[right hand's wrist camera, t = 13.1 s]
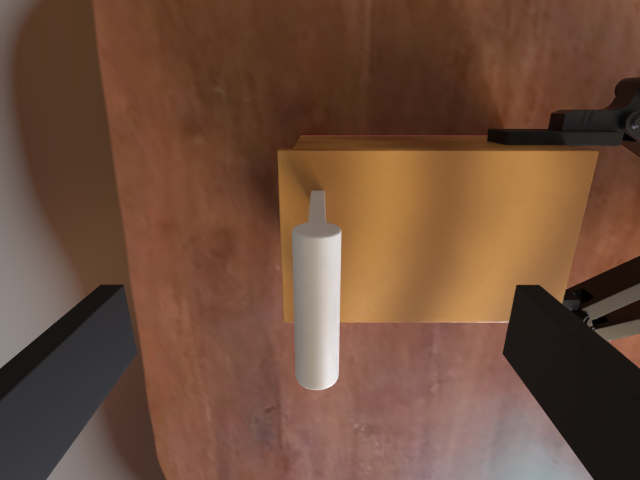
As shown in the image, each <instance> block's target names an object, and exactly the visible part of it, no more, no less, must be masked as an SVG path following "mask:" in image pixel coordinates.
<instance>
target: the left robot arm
mask: <svg viewBox="0 0 640 480" xmlns="http://www.w3.org/2000/svg"><path fill="white" fill-rule="evenodd" d="M615 95H616V97H615V99H614V100H613V102H612V103H611V104H610V105H609V106H608V107H606V108H605V109H602V110H559V111H556V112H553V113H551V118H550V123H549V128H548V129H489V130H488V137H487V141H490V142H494V143H499V144H504V145H568V146H621V144H622V145H623V146H624V147H626V148H627V149H629V150H630V151H632V152H633V153H634V154H636V155H637V156H639V157H640V77H636V78H626V79H623V80H621V81H620V82H619V83H618V84H617V85H616V87H615ZM562 304H563V305H564V306H565V307H567V308H568V309H569V310H570V311H571V312H572V313H574V314H575V315H576V316H577V317H578V318H580V319H581V320H582V321H583V322H584V323H586V324H587V325H588V326H589V327H590V328H592V329H593V330H594V331H595V332H596V333H598V334H599V335H600V336H601V337H602V338H604V339H605V340H606V341H610V340H615V339H619V338H623V337H628V336H632V335H636V334H640V256H638V257H636V258H634V259H632V260H630V261H628V262H625V263H623V264H621V265H619V266H617V267H615V268H612V269H610V270H608V271H606V272H604V273H601V274H599V275H597V276H595V277H593V278H591V279H588V280H586V281H584V282H582V283H580V284H577V285H575V286H573V287H571V288H569V289H567V290H565V294H564V298H563V302H562Z"/></svg>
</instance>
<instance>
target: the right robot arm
mask: <svg viewBox="0 0 640 480" xmlns="http://www.w3.org/2000/svg"><path fill="white" fill-rule="evenodd" d="M136 355H137V350H136V344H135V339H134V334H133V329H132V324H131V319H130V314H129V309H128V304H127V299H126V294H125V289H124V285H100V286H99V287H97V288H96V289H95V290H94V291H93V292H91V293H90V294H89V295H88V296H87V297H85V298H84V299H83V300H82V301H81V302H79V303H78V304H77V305H76V306H75V307H73V308H72V309H71V310H70V311H69V312H68V313H66V314H65V315H64V316H63V317H62V318H60V319H59V320H58V321H57V322H56V323H54V324H53V325H52V326H51V327H50V328H48V329H47V330H46V331H45V332H44V333H42V334H41V335H40V336H39V337H38V338H36V339H35V340H34V341H33V342H32V343H30V344H29V345H28V346H27V347H26V348H24V349H23V350H22V351H21V352H20V353H18V354H17V355H16V356H15V357H14V358H12V359H11V360H10V361H9V362H8V363H6V364H5V365H4V366H3V367H2V368H1V369H0V480H46V479H47V478H48V476H49V475H50V473H51V472H52V471H53V469H54V468H55V467H56V465H57V464H58V463H59V461H60V460H61V458H62V457H63V456H64V454H65V453H66V451H67V450H68V449H69V447H70V446H71V445H72V443H73V442H74V440H75V439H76V438H77V436H78V435H79V434H80V432H81V431H82V429H83V428H84V427H85V425H86V424H87V423H88V421H89V420H90V418H91V417H92V416H93V414H94V413H95V411H96V410H97V409H98V407H99V406H100V405H101V403H102V402H103V400H104V399H105V398H106V396H107V395H108V394H109V392H110V391H111V389H112V388H113V387H114V385H115V384H116V382H117V381H118V380H119V378H120V377H121V376H122V374H123V373H124V371H125V370H126V369H127V367H128V366H129V364H130V363H131V362H132V360H133V359H134V358H135V356H136ZM503 355H504V356H505V358H506V359H507V360H508V362H509V363H510V365H511V366H512V367H513V369H514V370H515V371H516V373H517V374H518V376H519V377H520V378H521V380H522V381H523V382H524V384H525V385H526V387H527V388H528V389H529V391H530V392H531V394H532V395H533V396H534V398H535V399H536V400H537V402H538V403H539V405H540V406H541V407H542V409H543V410H544V411H545V413H546V414H547V416H548V417H549V418H550V420H551V421H552V423H553V424H554V425H555V427H556V428H557V429H558V431H559V432H560V434H561V435H562V436H563V438H564V439H565V440H566V442H567V443H568V445H569V446H570V447H571V449H572V450H573V451H574V453H575V454H576V456H577V457H578V458H579V460H580V461H581V463H582V464H583V465H584V467H585V468H586V469H587V471H588V472H589V474H590V475H591V476H592V478H593V479H594V480H640V368H638V367H637V366H636V365H635V364H634V363H632V362H631V361H630V360H629V359H628V358H626V357H625V356H624V355H623V354H622V353H620V352H619V351H618V350H617V349H616V348H614V347H613V346H612V345H611V344H610V343H608V342H607V341H606V340H605V339H604V338H602V337H601V336H600V335H599V334H598V333H596V332H595V331H594V330H593V329H592V328H590V327H589V326H588V325H587V324H586V323H584V322H583V321H582V320H581V319H580V318H578V317H577V316H576V315H575V314H574V313H572V312H571V311H570V310H569V309H568V308H567V307H565V306H564V305H563V304H562V303H561V302H559V301H558V300H557V299H556V298H555V297H553V296H552V295H551V294H550V293H549V292H547V291H546V290H545V289H544V288H543V287H541V286H540V285H516V289H515V294H514V299H513V304H512V309H511V314H510V319H509V324H508V329H507V334H506V339H505V344H504V350H503Z"/></svg>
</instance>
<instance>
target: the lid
mask: <svg viewBox="0 0 640 480" xmlns="http://www.w3.org/2000/svg"><path fill="white" fill-rule="evenodd" d="M598 155H599V150H593V149H587V148H279V150H278V151H277V158H278V186H279V213H280V240H281V267H282V294H283V321H284V322H294V334H295V372H296V379H297V381H298V382H299V383H300V384H301V385H302V386H304V387H306V388H308V389H313V390H321V389H326V388H328V387H330V386H332V385H333V384H334V383H335V382H336V381H337V379H338V375H339V326H340V322H509V319H510V314H511V309H512V304H513V299H514V294H515V289H516V285H540V286H541V287H543V288H544V289H545V290H546V291H547V292H549V293H550V294H551V295H552V296H553V297H555V298H556V299H557V300H558V301H559V302H561V303H562V302H563V298H564V294H565V290H566V286H567V282H568V278H569V274H570V270H571V266H572V261H573V257H574V253H575V249H576V245H577V241H578V237H579V233H580V229H581V225H582V220H583V216H584V212H585V208H586V204H587V200H588V196H589V192H590V188H591V184H592V179H593V175H594V171H595V167H596V163H597V159H598Z"/></svg>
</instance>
